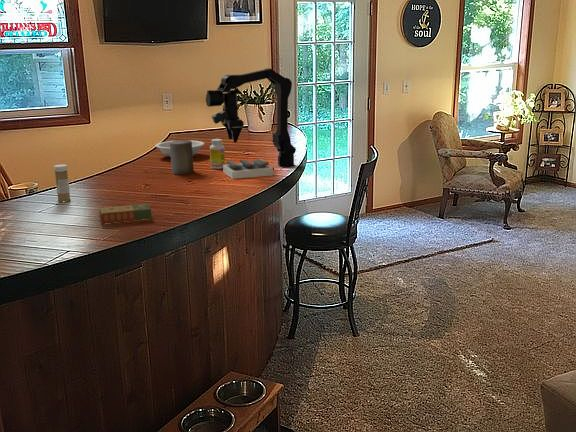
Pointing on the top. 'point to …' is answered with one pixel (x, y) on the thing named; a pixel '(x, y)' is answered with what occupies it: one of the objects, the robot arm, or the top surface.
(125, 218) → the carton
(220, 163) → the supplement bottle
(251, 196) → the top surface
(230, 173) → the light switch panel
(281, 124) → the robot arm
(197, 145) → the soup bowl
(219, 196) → the top surface
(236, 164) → the rocker
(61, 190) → the sprinkles bottle
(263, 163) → the rocker
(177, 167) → the pillar candle
